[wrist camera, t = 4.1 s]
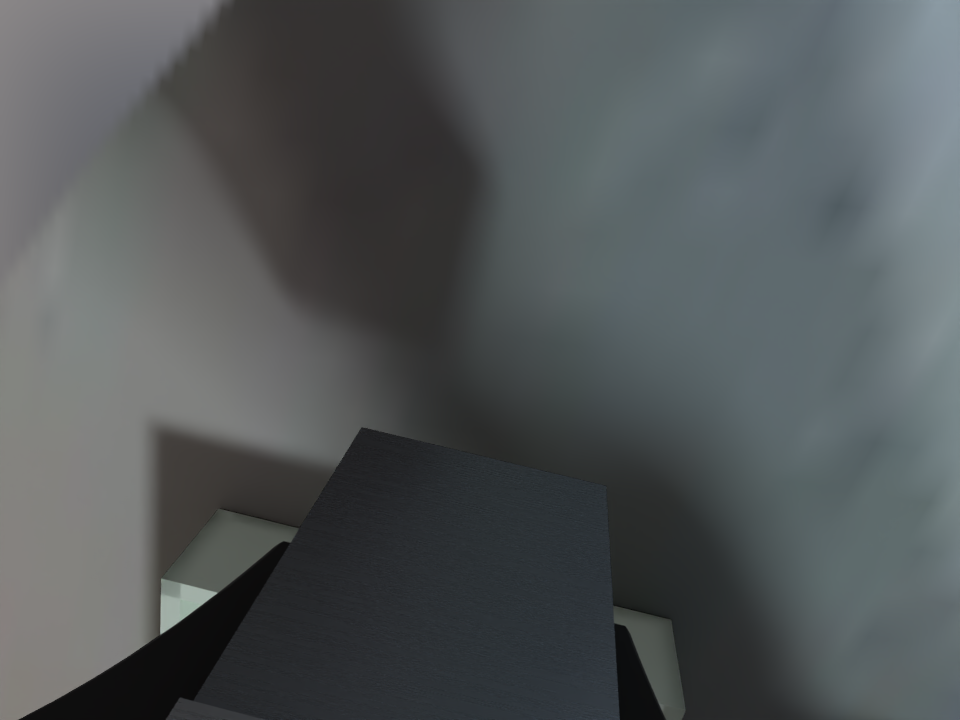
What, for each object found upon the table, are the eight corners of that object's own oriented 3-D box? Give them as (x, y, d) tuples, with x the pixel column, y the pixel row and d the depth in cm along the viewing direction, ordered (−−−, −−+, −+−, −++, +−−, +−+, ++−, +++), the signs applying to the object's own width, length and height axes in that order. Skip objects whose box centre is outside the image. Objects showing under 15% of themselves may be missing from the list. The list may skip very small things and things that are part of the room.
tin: (613, 481, 12) (640, 849, 7) (551, 674, 14) (531, 1095, 8) (357, 421, 13) (163, 723, 7) (329, 618, 14) (158, 989, 9)
